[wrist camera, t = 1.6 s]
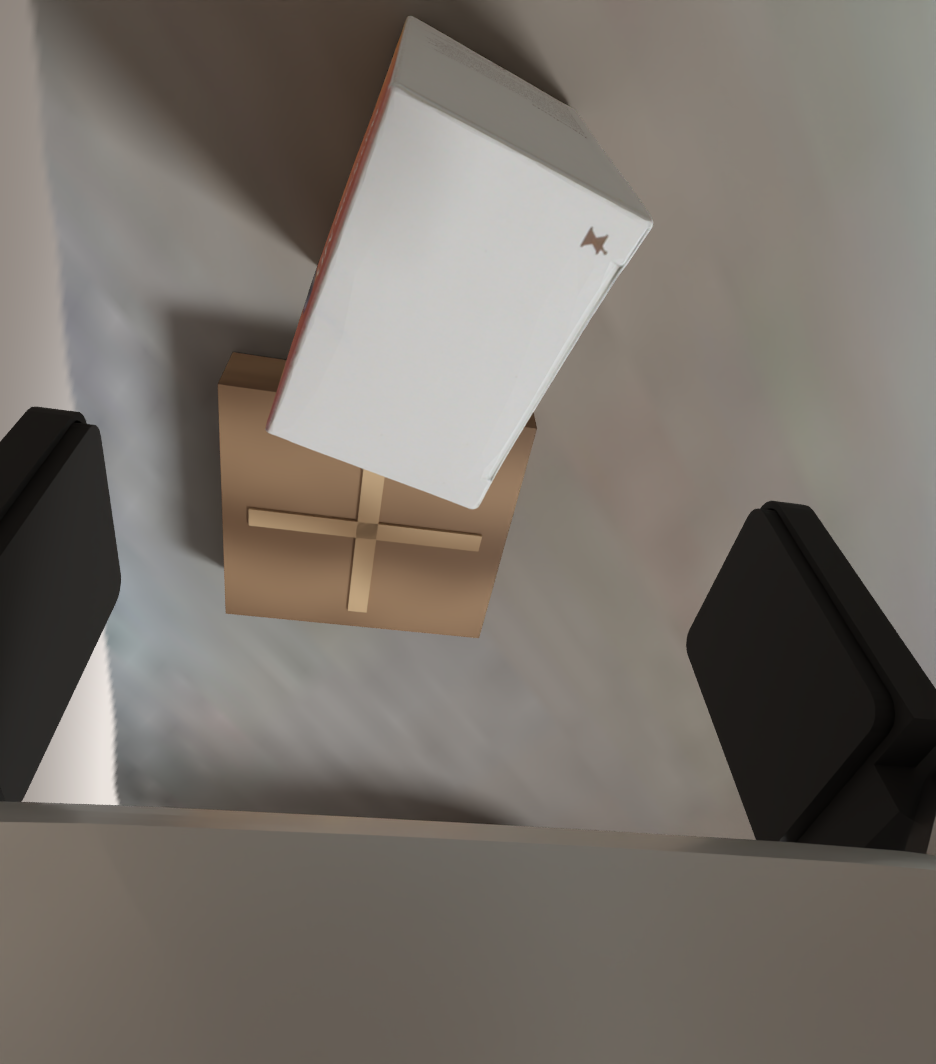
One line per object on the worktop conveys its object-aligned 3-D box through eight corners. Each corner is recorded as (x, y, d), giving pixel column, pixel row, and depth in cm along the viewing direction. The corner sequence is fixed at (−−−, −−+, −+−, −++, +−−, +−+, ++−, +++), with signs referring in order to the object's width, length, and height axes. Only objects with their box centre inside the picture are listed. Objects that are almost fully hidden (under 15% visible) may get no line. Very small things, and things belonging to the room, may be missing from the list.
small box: (408, 9, 20) (390, 64, 12) (580, 109, 22) (665, 216, 14) (314, 270, 25) (255, 437, 17) (463, 337, 27) (476, 518, 18)
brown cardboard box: (232, 352, 27) (217, 385, 25) (530, 395, 28) (537, 430, 26) (237, 575, 33) (225, 615, 31) (476, 600, 35) (478, 639, 33)
